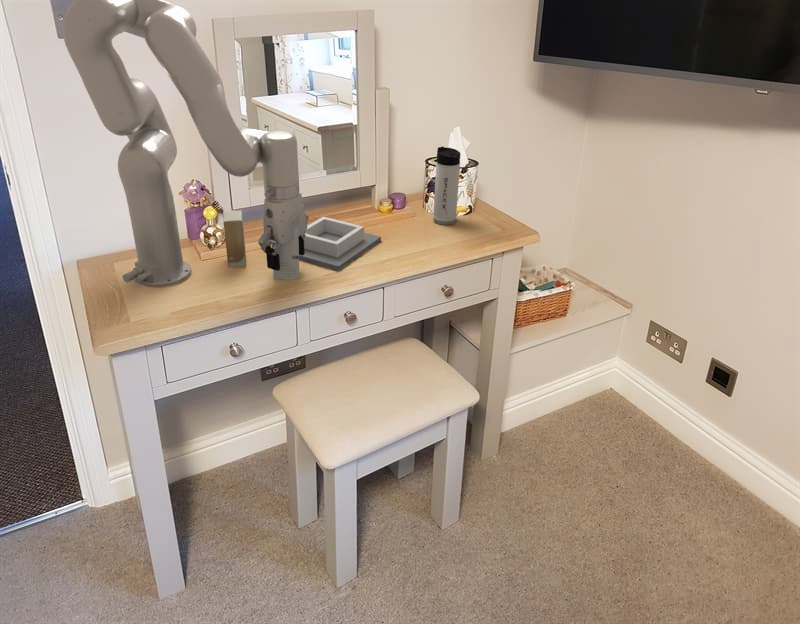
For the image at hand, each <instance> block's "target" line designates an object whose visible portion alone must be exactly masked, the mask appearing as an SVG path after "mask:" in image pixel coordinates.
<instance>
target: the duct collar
mask: <svg viewBox="0 0 800 624" xmlns="http://www.w3.org/2000/svg"><path fill="white" fill-rule="evenodd" d="M381 241H382V236H380V235H376V234H373V233H368V232H365V226H362V225H358V224H354V223H350V222H347V221H342V220H338V219H335V218H330V217H326V216H322V217H320V218H317V220H315V221H313V222H312V223H310V224H307V229H306V231H305V238H304V251H305V254H304V255H299V261H302V262H306V263H308V264H309V263H310V264H314V265H317V266H320V267H323V268H326V269H327V268H328V269H330V268H331V270H334V269H335V270H334V271H337V270H339V271H341V270H342V269H344V268H345V267H346V266H348V265H349V264H351V263H352V262H353V261H355V260H356V259H358V258H359V257H361V256H362V255H363V254H365V253H366V252H368V251H369V250H370V249H372V248H373V247H375V246H376V245H377V244H379V243H380V242H381ZM340 269H341V270H340Z"/></svg>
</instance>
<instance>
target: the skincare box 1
mask: <svg viewBox="0 0 800 624" xmlns="http://www.w3.org/2000/svg"><path fill="white" fill-rule="evenodd" d="M222 221H223V231H224V239H225V250H226V258H227V259H226V261H227V268H228V269H237V268H246V267H247V263H248V262H247V252H246V243H245V242H246V241H245V240H246V239H245V229H244V223H243V222H244V221H243V210H224V211H223V212H222Z"/></svg>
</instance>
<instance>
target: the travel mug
mask: <svg viewBox="0 0 800 624" xmlns="http://www.w3.org/2000/svg"><path fill="white" fill-rule="evenodd" d="M436 152H437V153H436V162H435V163H436V164H435V179H434V181H435V182H434V198H433V216H432V220H433V222H434V223H436V224H438V225H441V226H442V225H443V226H448V225H449V226H450V225H453V224H455V223H456V221H457V210H458V209H457V208H458V198H459V197H458V196H459V194H458V193H459V181H460V167H461V166H460V165H461V152H460V151H459V150H458V149H456V148H452V147H445V146H439V147H437V150H436Z"/></svg>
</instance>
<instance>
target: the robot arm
mask: <svg viewBox="0 0 800 624" xmlns="http://www.w3.org/2000/svg"><path fill="white" fill-rule="evenodd" d="M123 33H127V34H131V35H133V36H136V37H139V38H142V39H144V41H145V44H146V45H147V47H148V48H149V50H150V51H151V53H152V54H153V56H154V57H155V59H156V60H157V61H158V63H159V65H160V66H161V67H162V68H163V70H164V72H165V73H166V75H167V76H168V78H169V79H170V80H171V82H172V83H173V85H174V86H175V88H176V89H177V91H178V92H179V94H180V95H181V97H182V98H183V100H184V103H185V104H186V107H187V109H188V112H189V114H190V116H191V119H192V120H193V123H194V125H195V128H196V130H197V131H198V134H199V136H200V137H201V140H202V141H203V143H204V144H205V145H206V147H207V148H208V150H209V152H210V153H211V155H212V157H214V159H215V161H217V163H218V164H219V166H220V167H221V168H222V169H223V170H224V171H225V172H226V173H228V174H229V175H231V176H234V177H238V178H239V177H240V178H241V177H246V176H249V175H250V174H252V173H253V172H254V171H255V169H256V167H257V165H258V164H259V163H260V164H261V165H262V173H263V174H262V176H263V177H262V178H263V188H264V202H263V218H262V220H263V233H262V235H261V236H260V238H258V241H257V243H258V245H259V246H260V249H261V251H263V252H264V253H265V255H266V265H267V268H268V269H270V270H276V271H279V270H280V258H279V254H277V252H278V249H279V246H280V245H285V244H287V243H288V242H290V241H292V240H293V239H294V230H295V229H297V228H298V241H299V255H304V254H305V251H304V238H305V231H306V229H307V226H308V222H309V218H310V217H309V216H308V215H307V214H306V210H305V203H304V199H303V195H302V192H301V191H300V178H299V177H300V174H299V158H298V157H299V155H298V153H299V152H298V140H297V136H296V135H295V134H293V132H290V131H288V130H271V131H264V130H260V129H254V128H248V127H238V126H237V124H236V122H235V121H234V118H233V117H232V116H233V115H231V112H230V110H229V107H228V104H227V100H226V93H225V88H224V83H223V81H222V78H221V75H220V74H219V73H218V71H217V70H216V68H215V66H214V65H213V64H212V62H211V61H210V59H209V57H208V55H207V54H206V53H205V51H204V49H203V48H202V46H201V45H200V43H199V42H198V40H197V39H196V36H197V25H196V22H195V20H194V18H193V16H192V15H191V14H190V13H189V12H188V11H187V10H186V9H185V8H183V7H181V6H179V5H177V4H174V3H171V2H169V1H166V0H74V1H73V2H72V3H71V5H70V6H69V8H68V9H67V11H66V13H65V15H64V17H63V22H62V36H63V40H64V44H65V47H66V50H67V52H68V54H69V56H70V58H71V60H72V62H73V64H74V67H76V70H77V72H78V74H79V76H80V78H81V81H82V83H83V85H84V88H85V89H86V92H87V93H88V96H89V98H90V100H91V102H92V105H93V106H94V109H95V110H96V113H97V115H98V117H99V119H100V121H101V122H102V125H103V127H105V128H106V129H107V131H109V132H110V133H111V134H114V135H116V136H120V137H125V136H127V138H128V142H127V143H126V144H125V145H124V146H123V147H122V149H121V151H120V153H119V155H118V159H117V170H118V175H119V179H120V181H121V185H122V187H123V190H124V194H125V199H126V202H127V208H128V213H129V218H130V223H131V228H132V235H133V240H134V245H135V249H136V250H135V251H136V255H137V261H134V265H135V266H134V268H133V269H132V270H131V271H128V272H126V273H124V274H122V277H121V278H122V280H123V281H124V282H125V283H130V282H132V281H133V280H134V281H135V282H136V283H137V284H139V285H141V286H144V287H149V288H165V287H171V286H174V285H177V284H180V283H182V282H184V281H186V280H187V279H189V277H190V276H191V275H192V268H191V265H190V264H189V263H188V262H187V261H184V260H183V254H182V247H181V246H182V245H181V239H180V233H179V226H178V225H179V224H178V220H177V219H178V217H177V213H176V212H177V211H176V205H175V199H174V195H173V190H172V188H171V184H170V181H169V180H170V179H169V175H168V174H169V173H168V172H169V170H170V168H171V166H172V165H173V163H174V162H175V160H176V157H177V152H178V149H177V148H178V147H177V143H176V139H175V137H174V134H173V132H172V130H171V128H170V125H169V123H168V121H167V118H166V116H165V114H164V111H163V109H162V106H161V104H160V102H159V100H158V98H157V95H156V94H155V92H154V91H153V90H152V89H151V88H150V87H149V85H148V84H146V83H145V82H143V81H141V80H140V79H137V78H134V77H133V78H132V77H130V76H129V73H128V72H127V69H126V67H125V63H124V62H123V60H122V58H121V57H120V55H119V53H118V51H116V49H115V48H114V46H113V39H114V38H115V37H117V36H118V35H119V34H123ZM273 237H274V239H275V240H273ZM272 243H274V244H275V245H274V248H272Z"/></svg>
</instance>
